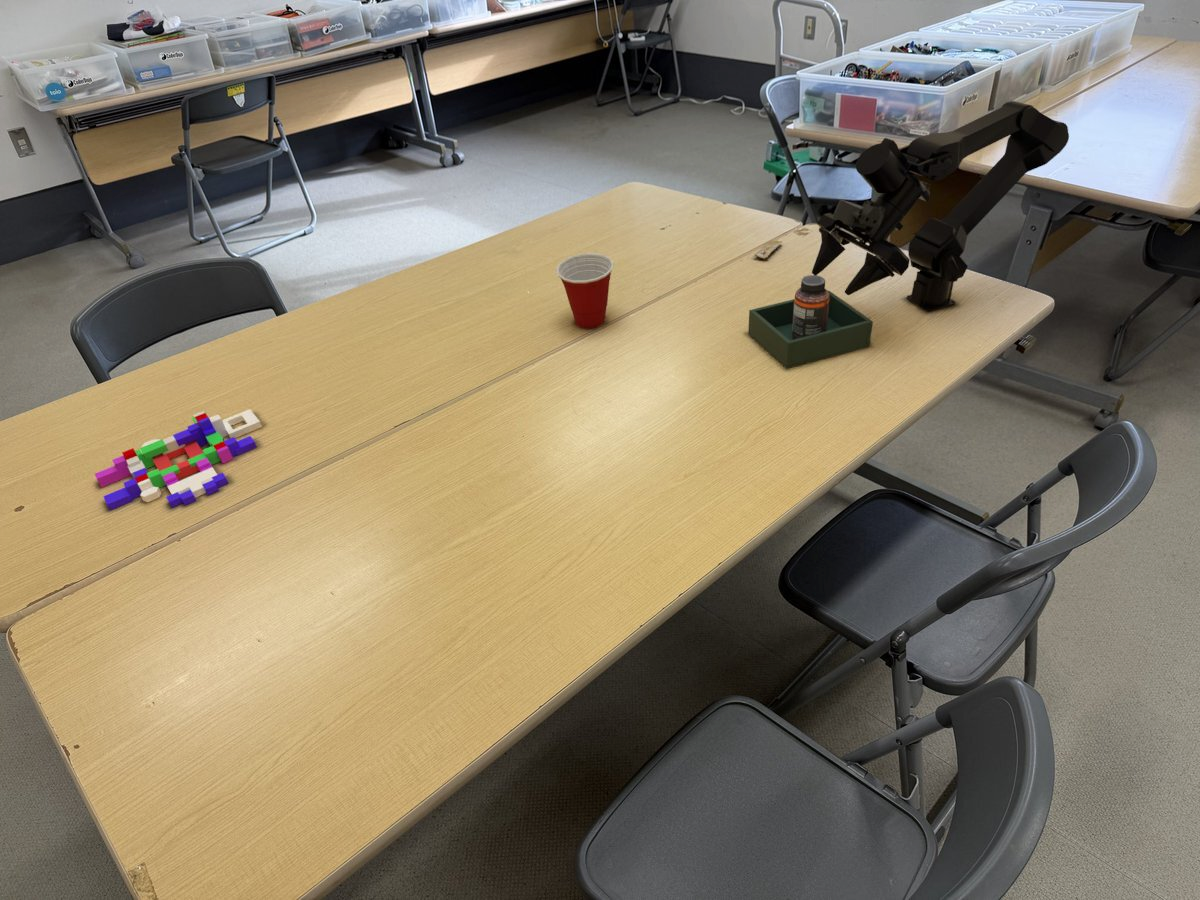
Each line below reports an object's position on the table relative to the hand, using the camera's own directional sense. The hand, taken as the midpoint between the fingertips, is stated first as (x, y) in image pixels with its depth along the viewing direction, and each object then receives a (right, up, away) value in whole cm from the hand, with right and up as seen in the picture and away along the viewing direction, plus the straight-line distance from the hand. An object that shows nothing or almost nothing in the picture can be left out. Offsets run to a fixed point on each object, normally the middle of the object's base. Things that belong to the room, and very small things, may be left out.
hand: (829, 283), depth 136 cm
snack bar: (-3, +15, +36) cm, 39 cm away
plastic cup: (-42, -4, +17) cm, 45 cm away
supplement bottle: (-2, -9, +5) cm, 10 cm away
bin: (-3, -9, +5) cm, 11 cm away
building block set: (-105, -31, -11) cm, 110 cm away
